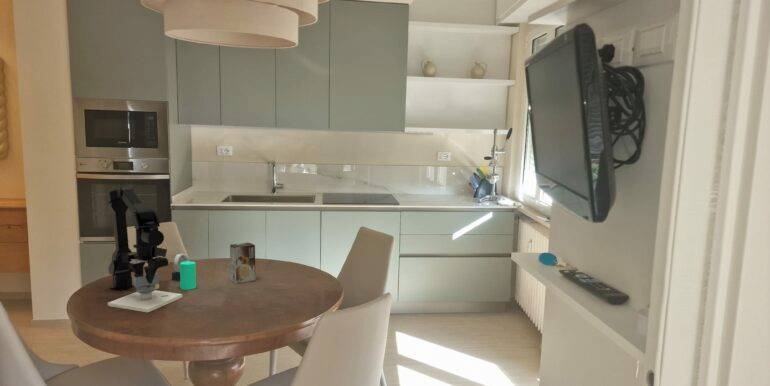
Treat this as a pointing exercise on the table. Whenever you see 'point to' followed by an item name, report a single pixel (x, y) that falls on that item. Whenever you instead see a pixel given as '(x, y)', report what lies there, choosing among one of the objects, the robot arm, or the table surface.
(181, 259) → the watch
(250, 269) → the coffee box
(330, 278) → the table surface
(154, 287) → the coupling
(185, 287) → the candle
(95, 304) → the table surface
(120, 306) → the post plate
